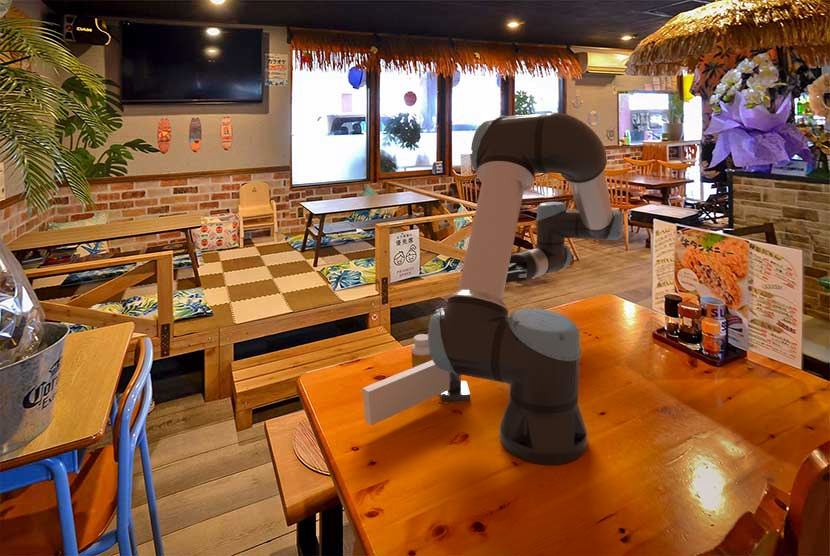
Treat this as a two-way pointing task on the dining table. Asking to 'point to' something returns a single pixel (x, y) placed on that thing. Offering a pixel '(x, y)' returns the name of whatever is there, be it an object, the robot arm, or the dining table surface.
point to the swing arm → (403, 391)
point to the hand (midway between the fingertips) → (461, 283)
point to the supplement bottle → (420, 350)
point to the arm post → (456, 390)
